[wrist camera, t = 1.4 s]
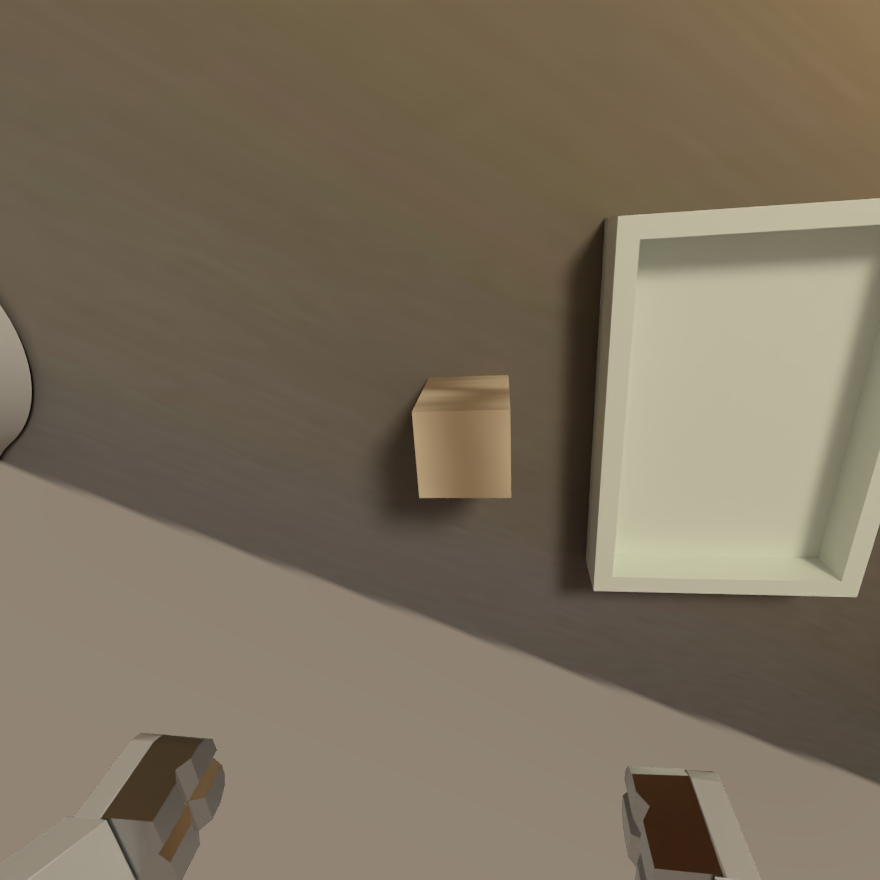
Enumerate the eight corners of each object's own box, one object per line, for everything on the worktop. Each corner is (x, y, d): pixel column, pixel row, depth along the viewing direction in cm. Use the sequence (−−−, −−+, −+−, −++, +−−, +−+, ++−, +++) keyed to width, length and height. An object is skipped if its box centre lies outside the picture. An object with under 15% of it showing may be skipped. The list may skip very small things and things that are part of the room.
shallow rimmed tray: (585, 560, 32) (593, 591, 29) (605, 217, 25) (617, 216, 22) (824, 563, 30) (856, 597, 27) (924, 196, 23) (982, 191, 20)
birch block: (434, 449, 30) (419, 497, 25) (428, 377, 29) (411, 412, 23) (509, 448, 30) (511, 498, 24) (508, 374, 28) (510, 409, 23)
